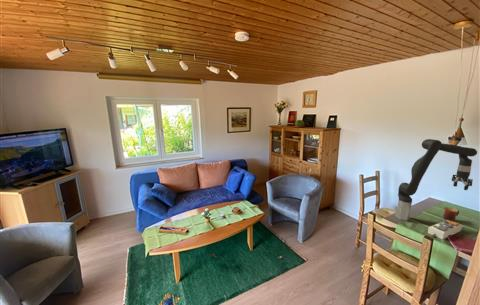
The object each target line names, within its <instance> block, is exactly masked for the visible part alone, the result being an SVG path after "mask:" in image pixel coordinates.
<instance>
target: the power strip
mask: <svg viewBox="0 0 480 305" xmlns="http://www.w3.org/2000/svg"><path fill="white" fill-rule="evenodd" d="M444 223H448V224H451V223H449V220H443V221H442V222H441V221H440V222H438V223H436V224H432V225H430V226H429V227H428V228H427V233H428V234H429V235H431V237H432V238H433V237H436V238H438V239H441V240H444V239H446V238H449V237H448V235H451V236H453V235H455V234H457V233H459V232H462V229H463V224H460V223H459V225H454V224H451V225H453V226H454V227H453V228H451V227H448V229H446V230H445V231H441V230H439V229H437V227H438V226H440V225H441V224H444Z"/></svg>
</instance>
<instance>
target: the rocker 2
mask: <svg viewBox="0 0 480 305" xmlns="http://www.w3.org/2000/svg"><path fill="white" fill-rule="evenodd" d="M449 223H451V224H454V225H459V224H460V223H459V222H457V221H449Z"/></svg>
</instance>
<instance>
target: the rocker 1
mask: <svg viewBox="0 0 480 305" xmlns="http://www.w3.org/2000/svg"><path fill="white" fill-rule="evenodd" d="M437 229H439V230H441V231H445V230H446V229H448V226H446V225H443V224H441V225H440V226H438V227H437Z"/></svg>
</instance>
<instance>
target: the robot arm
mask: <svg viewBox="0 0 480 305" xmlns="http://www.w3.org/2000/svg"><path fill="white" fill-rule="evenodd" d="M421 147H422V148H423V149H425V150H426V152H425V154H424V155H422V156H421V157H419V158H418V159H417V160H416V161H415V162H414V163H413V164H412V167H411V173H410V174H411V179H410V182H409V183H408V182H401V183H400V184H399V186H398V191H397V192H398V193H397V196H398V202H397V206H396V207H395V214H394V217H395V218H397V219H398V220H401V221H406V222H407V221H410V215H411V211H412V210H411V209H412V204H413V198H412V197H411V196H414V195H415V194H416V193H417V190H418V189H419V186H420V184H421V181H422V179H423V177H424V175H425V174H426V172H427V170H428V168H429V166H430V165H431V163H432V161H433V160H434V158H435V156H436V155H437V153H438V152H439V151H441V152H446V153H451V154H456V155H458V159H459V162H458V163H459V164H458V166H457V169H456V174H452V177H451V182H453V187H458V183H459V182H462V184H463V185H464V186H463V190H464V191H468V189H469V187H472V186H473V181H474V179H473V178H469V177H470V176H471V171H472V164H473V160H472V159H471V158H469V157H475V156H477V154H478V150H477V149H475V148H472V147H465V146H460V145H457V144H456V145H455V144H450V143H449V144H448V143H444V142H443V143H442V141H440V140H439V139H434V138H433V139H431V138H428V139H424V140H423V141H422V143H421Z"/></svg>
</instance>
